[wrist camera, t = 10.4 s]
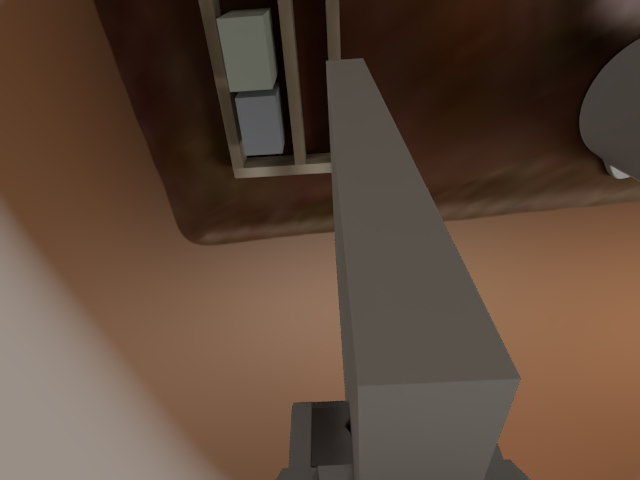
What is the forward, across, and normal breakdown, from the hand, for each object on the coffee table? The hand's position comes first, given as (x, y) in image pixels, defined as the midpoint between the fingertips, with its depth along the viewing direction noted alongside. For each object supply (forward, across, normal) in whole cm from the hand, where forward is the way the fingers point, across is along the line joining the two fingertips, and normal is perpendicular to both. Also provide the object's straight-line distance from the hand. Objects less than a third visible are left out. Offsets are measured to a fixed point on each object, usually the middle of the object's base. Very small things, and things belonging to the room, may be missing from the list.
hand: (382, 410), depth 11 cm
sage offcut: (+39, +8, -4) cm, 40 cm away
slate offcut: (+39, +8, +3) cm, 40 cm away
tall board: (+15, 0, 0) cm, 15 cm away
